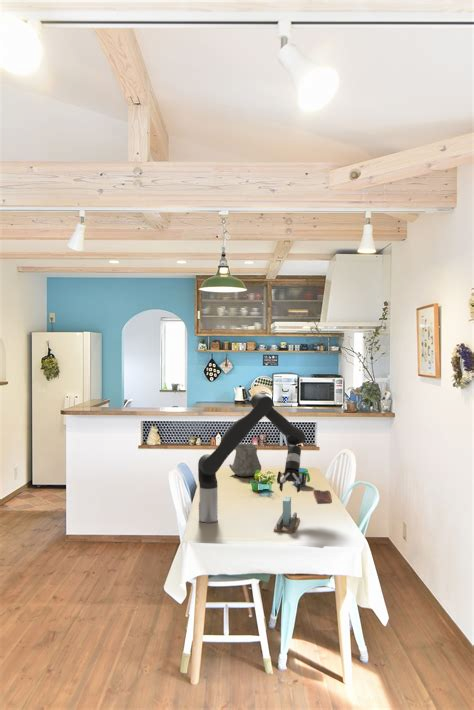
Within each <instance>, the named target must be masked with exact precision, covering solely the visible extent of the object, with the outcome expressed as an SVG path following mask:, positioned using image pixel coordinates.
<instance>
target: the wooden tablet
mask: <svg viewBox="0 0 474 710" xmlns="http://www.w3.org/2000/svg"><path fill="white" fill-rule="evenodd" d="M313 496H314V499H315V501H316V503H317V504H320V505H321V504H323V505H326V504H327V505H328V504H332V503H333V500H332V499H333V498H332V496H331V492H330V490H320V489H314V490H313Z"/></svg>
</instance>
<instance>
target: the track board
mask: <svg viewBox="0 0 474 710" xmlns="http://www.w3.org/2000/svg"><path fill="white" fill-rule="evenodd" d="M300 520H301V519H300V517H298V516H297V512H294V513H293V515H292V516H291V521H290V524H289V526H287V525H283V512H282V513H281V515H280V516H279V518H278V520H277V522H276V524H275V526H274V527H273V533H274V532H275V533H284V534H285V533H286V534H295V533H296V530H297V527H298V525H299V524H300V523H299V522H300Z"/></svg>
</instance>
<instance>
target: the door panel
mask: <svg viewBox="0 0 474 710" xmlns="http://www.w3.org/2000/svg"><path fill="white" fill-rule="evenodd" d="M282 513H283V525H287V526H289V524H290V521H291V517H292V497H291V496H290V497H289V496H284V498H283V500H282Z"/></svg>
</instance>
